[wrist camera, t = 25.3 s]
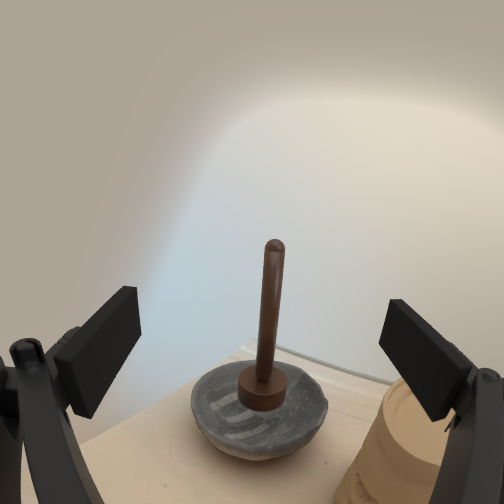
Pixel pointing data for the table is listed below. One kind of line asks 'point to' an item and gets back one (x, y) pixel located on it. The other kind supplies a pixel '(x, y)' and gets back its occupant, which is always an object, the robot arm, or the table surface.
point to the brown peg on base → (266, 340)
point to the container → (397, 454)
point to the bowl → (257, 413)
